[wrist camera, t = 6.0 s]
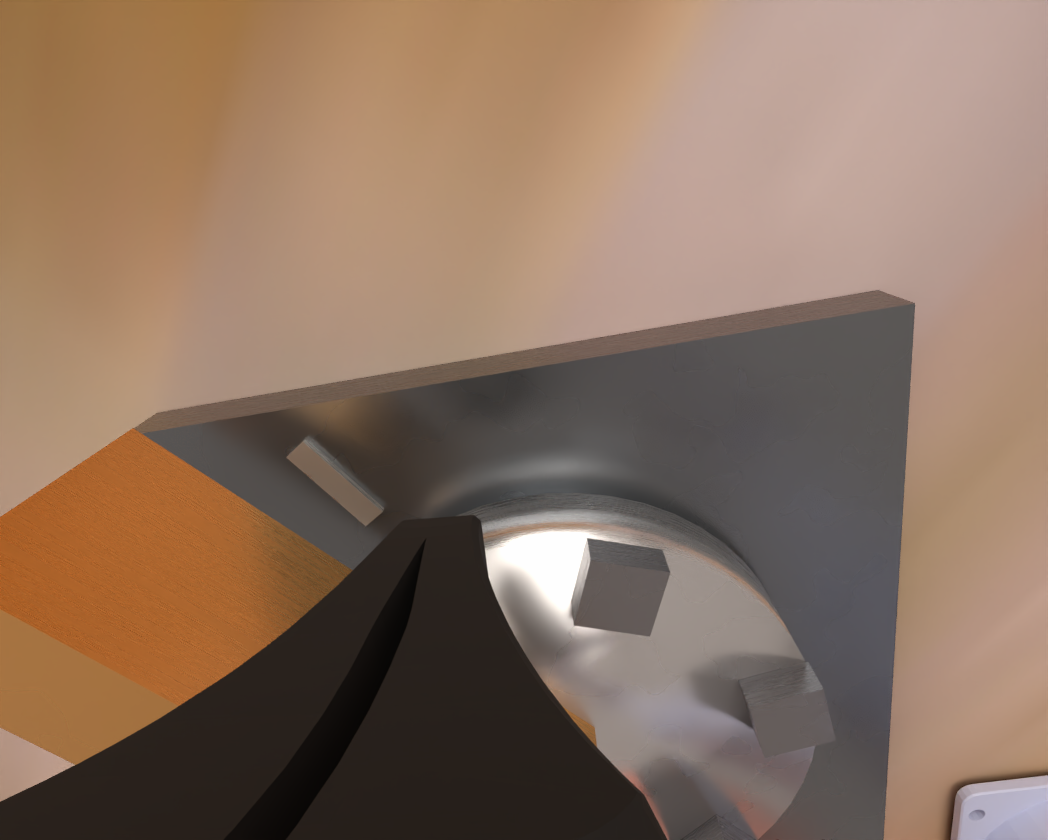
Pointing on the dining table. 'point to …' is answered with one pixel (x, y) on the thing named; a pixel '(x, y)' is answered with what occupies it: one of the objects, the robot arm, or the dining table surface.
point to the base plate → (639, 477)
